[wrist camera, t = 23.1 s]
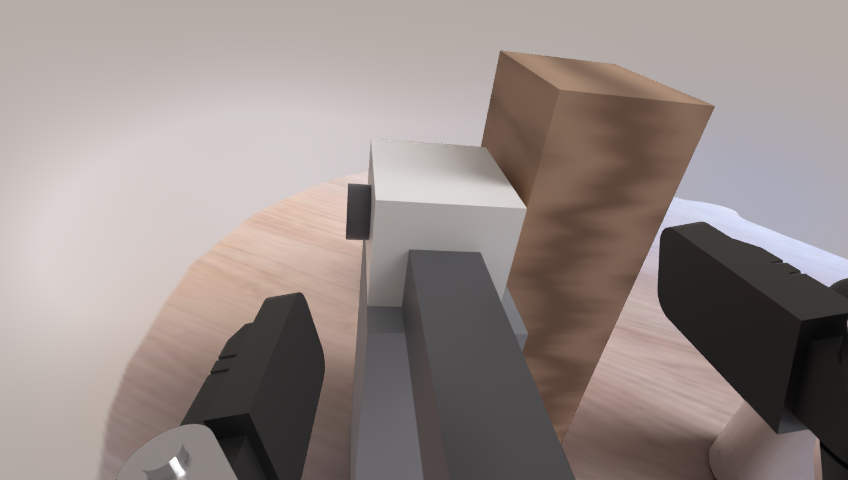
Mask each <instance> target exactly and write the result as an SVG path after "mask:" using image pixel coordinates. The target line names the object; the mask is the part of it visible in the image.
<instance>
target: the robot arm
mask: <svg viewBox="0 0 848 480" xmlns="http://www.w3.org/2000/svg"><path fill="white" fill-rule="evenodd" d="M658 298H659V302H660V305H661V308H662V310H663V312H664V314H665V315H666V317H667V318H668V319H669V320H670V321H671V322H672V323H673V324H674V325H675V326H676V327H677V329H678V330H679V331H680V332H681V333H682V334H683V335H684V336H685V337H686V338H687V339H688V340H689V341H690V342H691V343H692V344H693V346H694V347H695V348H696V349H697V350H698V351H699V352H700V353H701V354H702V355H703V356H704V357H705V358H706V359H707V360H708V361H709V363H710V364H711V365H712V366H713V367H714V368H715V369H716V370H717V371H718V372H719V373H720V374H721V375H722V376H723V377H724V378H725V380H726V381H727V382H728V383H729V384H730V385H731V386H732V387H733V388H734V389H735V390H736V391H737V392H738V393H739V394H740V395H741V397H742V398H743V399H744V400H745V401H744V402H743V404H742V405H741V407H740V408H739V409H738V411H737V412H736V413H735V415H734V416H733V417H732V419H731V420H730V421H729V423H728V424H727V425H726V427H725V428H724V429H723V431H722V432H721V433H720V435H719V436H718V438H717V439H716V440H715V442H714V443H713V444H712V446H711V448H710V451H709V462H710V467H711V469H712V472H713V475H714V476H715V478H716V480H848V278H847V279H843V280H840V281H838V282H836V283H834V284H833V285H831V286H830V287H827V286H825V285H824V284H822V283H820V282H818V281H817V280H815V279H813V278H812V277H810V276H808V275H807V274H801V272H800V270H798V269H796V268H795V267H793V266H791V265H790V264H788V263H783V260H781V259H780V258H778V257H776V256H774V255H773V254H771V253H769V252H768V251H766V250H764V249H763V248H761V247H757V246H754V245H751V244H748V243H745V242H742V241H739V240H735V239H732V238H730V237H729V236H727V235H725V234H724V233H722V232H721V231H719V230H717V229H716V228H714V227H712V226H711V225H709V224H708V223H705V222H696V223H691V224H685V225H680V226H674V227H668V228H665V229H664V230H663V231H662V234H661V237H660V250H659V270H658ZM324 372H325V362H324V354H323V349H322V346H321V343H320V340H319V337H318V334H317V331H316V328H315V325H314V322H313V319H312V316H311V313H310V310H309V307H308V304H307V301H306V299H305V297H304V295H303V294H302V293H300V292H298V293H292V294H287V295H281V296H275V297H270V298H266V299H265V301H264V302H263V304H262V306H261V308H260V310H259V312H258V314H257V316H256V318H255V320H254V322H253V323H248V324H245V325H244V326H243V327H242V328H241V329H240V330H239V331H238V332H237V333H235V334H234V335H233V336H232V337H231V338H230V339H229V340H228V341H227V343H226V345H225V347H224V349H223V350H222V352H221V354H220V356H219V361H216V363H215V365H214V366H213V368H212V370H211V375H210V376H208V377H207V379H206V380H205V382H204V384H203V386H202V388H201V389H200V391H199V393H198V395H197V396H196V398H195V400H194V402H193V404H192V405H191V407H190V409H189V411H188V412H187V414H186V416H185V418H184V419H183V421H182V423H181V425H180V426H179V427H176V428H173V429H170V430H168V431H166V432H164V433H162V434H160V435H158V436H156V437H155V438H153V439H151V440H150V441H148V442H147V443H146V444H144V445H143V446H142V447H141V448H140V449H138V450H137V451H136V452H135V453H134V454H133V455H132V456H131V457H130V458H129V459H128V460H127V462H126V463H125V464H124V466H123V467H122V469H121V470H120V472H119V473H118V476H117V478H116V480H301V476H302V472H303V467H304V463H305V459H306V454H307V450H308V445H309V441H310V436H311V432H312V427H313V423H314V418H315V414H316V410H317V405H318V401H319V396H320V392H321V387H322V383H323V378H324Z"/></svg>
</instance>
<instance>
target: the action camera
mask: <svg viewBox="0 0 848 480" xmlns="http://www.w3.org/2000/svg"><path fill="white" fill-rule="evenodd" d="M526 211H527V208H526V206H525V205H524V203H523V202H522V200H521V199H520V197H519V196H518V194H517V193H516V191H515V190H514V188H513V187H512V186H511V184H510V183H509V181H508V180H507V178H506V177H505V175H504V174H503V172H502V171H501V169H500V168H499V166H498V165H497V163H496V162H495V160H494V159H493V157H492V156H491V154H490V153H489V151H488V150H487V148H486V147H475V146H462V145H450V144H438V143H424V142H413V141H400V140H388V139H376V138H371V147H370V161H369V174H368V185H363V184H348V201H347V224H346V239H349V240H365V246H366V281H367V306H386V307H402V314H403V321H404V329H405V337H406V345H407V353H408V361H409V368H410V376H411V384H412V392H413V400H414V408H415V416H416V423H417V431H418V439H419V447H420V455H421V463H422V471H423V478H424V480H575V477H574V475H573V473H572V470H571V468H570V465H569V463H568V461H567V458H566V456H565V453H564V451H563V449H562V446H561V444H560V441H559V439H558V437H557V434H556V432H555V429H554V427H553V425H552V422H551V420H550V418H549V415H548V413H547V410H546V408H545V406H544V403H543V401H542V398H541V396H540V394H539V391H538V389H537V386H536V384H535V382H534V379H533V377H532V374H531V372H530V370H529V367H528V365H527V362H526V360H525V358H524V355H523V353H522V350H521V348H520V346H519V343H518V341H517V338H516V336H515V334H514V331H513V329H512V327H511V324H510V322H509V319H508V317H507V315H506V312H505V310H504V307H503V305H502V303H501V302H502V298H503V294H504V291H505V287H506V283H507V280H508V276H509V273H510V269H511V265H512V262H513V258H514V254H515V251H516V247H517V244H518V240H519V236H520V233H521V229H522V225H523V222H524V218H525V214H526Z"/></svg>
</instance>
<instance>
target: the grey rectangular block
mask: <svg viewBox="0 0 848 480" xmlns="http://www.w3.org/2000/svg"><path fill="white" fill-rule="evenodd" d="M501 303H502V305H503V307H504V310H505V312H506V315H507V317H508V319H509V322H510V324H511V327H512V329H513V331H514V334H515V336H516V338H517V341H518V343H519V346H520V348H521V350H522V351H523V348H524V345H525V342H526V339H527V336H528V332H527V330H526V328H525V325H524V323H523V321H522V319H521V317H520V314H519V312H518V310H517V308H516V306H515V303H514V301H513V299H512V297H511V295H510V292H509V290H508V288H507V286H506V287H505V291H504V294H503V298H502V302H501ZM350 480H424V478H423V471H422V463H421V455H420V447H419V439H418V431H417V423H416V416H415V408H414V400H413V392H412V384H411V376H410V368H409V361H408V353H407V345H406V337H405V329H404V321H403V314H402V307H386V306H367V281H366V246H365V240H363V252H362V267H361V281H360V296H359V311H358V326H357V341H356V356H355V370H354V385H353V400H352V415H351V433H350Z"/></svg>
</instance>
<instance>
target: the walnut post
mask: <svg viewBox="0 0 848 480" xmlns="http://www.w3.org/2000/svg"><path fill="white" fill-rule="evenodd" d="M714 107H715V106H714V105H711V104H709V103H706V102H704V101H702V100H699V99H697V98H694V97H692V96H690V95H687V94H685V93H682V92H680V91H678V90H675V89H673V88H670V87H668V86H666V85H663V84H661V83H658V82H656V81H654V80H651V79H649V78H646V77H644V76H642V75H639V74H637V73H635V72H632V71H630V70H627V69H625V68H623V67H620V66H618V65H615V64H608V63H600V62H591V61H583V60H575V59H565V58H558V57H550V56H541V55H533V54H524V53H516V52H508V51H500V54H499V59H498V64H497V69H496V74H495V79H494V84H493V89H492V94H491V99H490V105H489V109H488V114H487V119H486V124H485V129H484V134H483V140H482V144H481V147H486V148H487V150H488V151H489V153H490V154H491V156H492V157H493V159H494V160H495V162H496V163H497V165H498V166H499V168H500V169H501V171H502V172H503V174H504V175H505V177H506V178H507V180H508V181H509V183H510V184H511V186H512V187H513V188H514V190H515V191H516V193H517V194H518V196H519V197H520V199H521V200H522V202H523V203H524V205H525V206H526V208H527V211H526V214H525V218H524V222H523V225H522V229H521V233H520V236H519V240H518V244H517V247H516V251H515V254H514V258H513V262H512V265H511V269H510V273H509V276H508V280H507V283H506V286H507V288H508V290H509V292H510V295H511V297H512V299H513V301H514V303H515V306H516V308H517V310H518V312H519V314H520V317H521V319H522V321H523V323H524V325H525V328H526V330H527V332H528V336H527V339H526V342H525V345H524V348H523V351H522V353H523V355H524V358H525V360H526V362H527V365H528V367H529V370H530V372H531V374H532V377H533V379H534V382H535V384H536V386H537V389H538V391H539V394H540V396H541V398H542V401H543V403H544V406H545V408H546V410H547V413H548V415H549V418H550V420H551V422H552V425H553V427H554V429H555V432H556V434H557V437H558V439H559V441H560V444H561V442H562V440H563V438H564V436H565V433H566V431H567V429H568V427H569V425H570V422H571V420H572V418H573V416H574V414H575V412H576V409H577V407H578V405H579V403H580V401H581V398H582V396H583V394H584V392H585V390H586V387H587V385H588V383H589V381H590V379H591V376H592V374H593V372H594V370H595V368H596V366H597V363H598V361H599V359H600V357H601V355H602V352H603V350H604V348H605V346H606V344H607V341H608V339H609V337H610V335H611V333H612V330H613V328H614V326H615V324H616V322H617V320H618V317H619V315H620V313H621V311H622V309H623V306H624V304H625V302H626V300H627V298H628V295H629V293H630V291H631V289H632V287H633V284H634V282H635V280H636V278H637V276H638V274H639V271H640V269H641V267H642V265H643V263H644V260H645V258H646V256H647V254H648V252H649V249H650V247H651V245H652V243H653V241H654V238H655V236H656V234H657V232H658V230H659V228H660V225H661V223H662V221H663V219H664V217H665V214H666V212H667V210H668V208H669V206H670V203H671V201H672V199H673V197H674V195H675V193H676V190H677V188H678V186H679V184H680V181H681V179H682V177H683V175H684V173H685V171H686V168H687V166H688V164H689V162H690V160H691V157H692V155H693V153H694V151H695V149H696V146H697V144H698V142H699V140H700V138H701V135H702V133H703V131H704V129H705V127H706V124H707V122H708V120H709V118H710V116H711V113H712V111H713V109H714Z"/></svg>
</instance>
